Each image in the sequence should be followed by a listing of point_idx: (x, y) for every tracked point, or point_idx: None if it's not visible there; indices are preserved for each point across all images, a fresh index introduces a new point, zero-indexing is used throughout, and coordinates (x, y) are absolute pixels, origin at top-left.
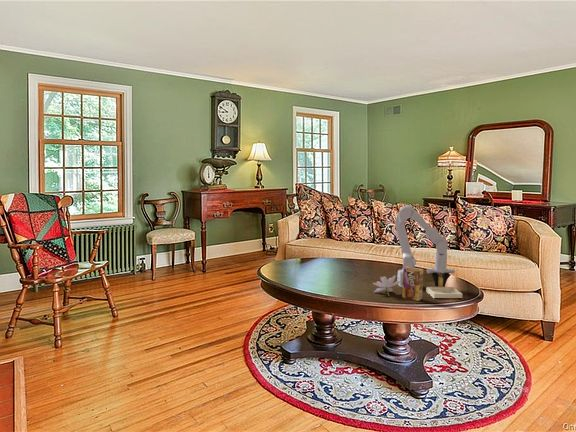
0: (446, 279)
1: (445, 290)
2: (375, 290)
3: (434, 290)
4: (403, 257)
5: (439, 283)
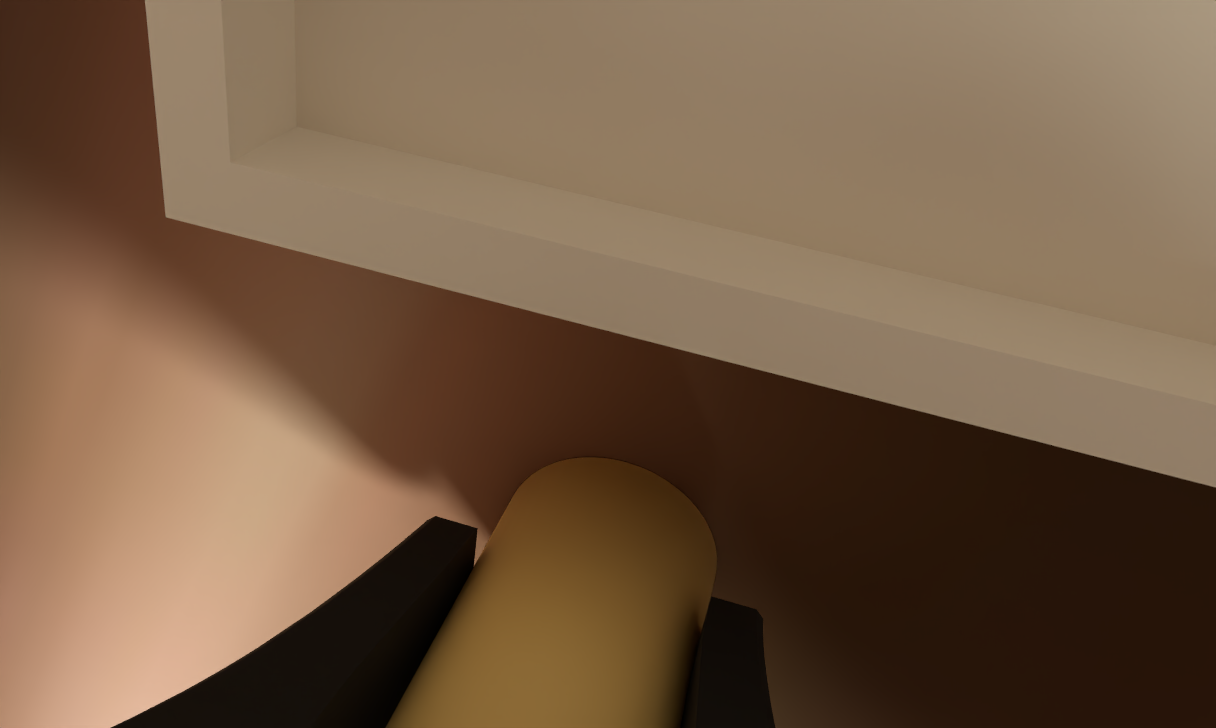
0: (201, 719)
1: (635, 101)
2: None
3: None
4: None
5: (618, 672)
